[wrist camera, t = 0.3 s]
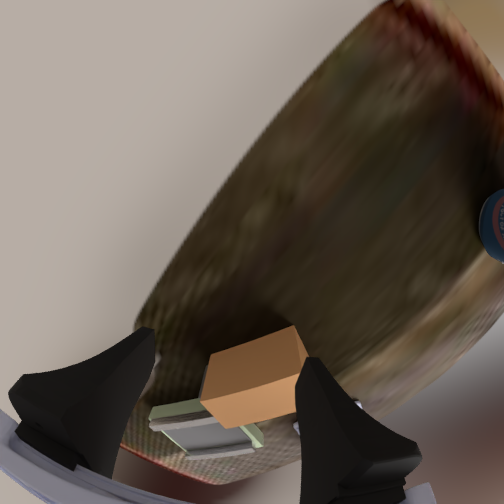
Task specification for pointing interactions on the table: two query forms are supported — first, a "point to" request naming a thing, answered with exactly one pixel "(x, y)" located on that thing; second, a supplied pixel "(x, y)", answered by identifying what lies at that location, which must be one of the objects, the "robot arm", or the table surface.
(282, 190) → the table surface
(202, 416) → the green rimmed tray
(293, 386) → the tan tapered column
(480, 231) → the soda can
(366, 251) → the table surface
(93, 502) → the robot arm
